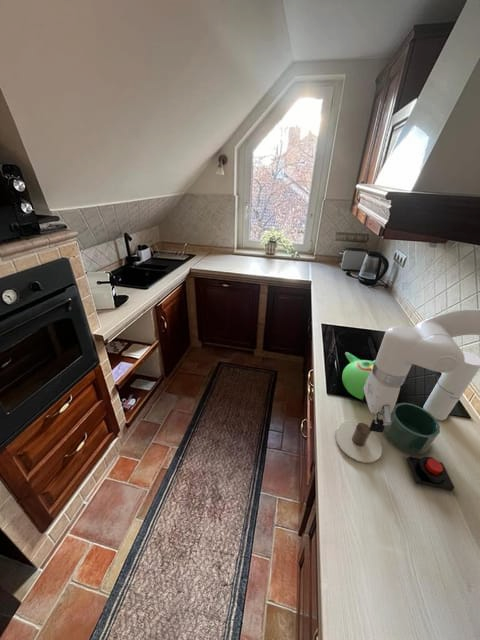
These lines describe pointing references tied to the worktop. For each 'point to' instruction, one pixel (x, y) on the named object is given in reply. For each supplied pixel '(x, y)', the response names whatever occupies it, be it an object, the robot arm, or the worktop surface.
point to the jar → (412, 428)
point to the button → (433, 466)
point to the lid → (358, 442)
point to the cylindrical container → (451, 387)
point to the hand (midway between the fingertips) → (371, 416)
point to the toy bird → (356, 375)
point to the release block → (429, 474)
